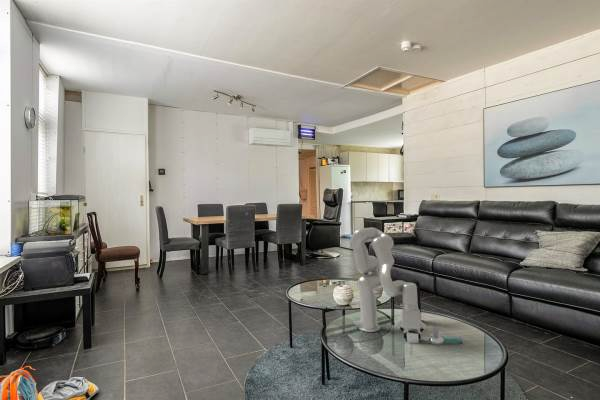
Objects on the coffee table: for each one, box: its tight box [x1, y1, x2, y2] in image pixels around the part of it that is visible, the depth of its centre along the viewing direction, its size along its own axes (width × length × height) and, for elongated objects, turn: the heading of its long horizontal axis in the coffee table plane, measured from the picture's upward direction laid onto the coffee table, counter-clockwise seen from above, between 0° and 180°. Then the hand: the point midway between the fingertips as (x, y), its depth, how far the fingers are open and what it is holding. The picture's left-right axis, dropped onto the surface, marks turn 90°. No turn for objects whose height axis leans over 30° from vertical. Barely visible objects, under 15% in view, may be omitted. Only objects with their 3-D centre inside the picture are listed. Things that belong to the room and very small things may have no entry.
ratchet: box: [427, 327, 463, 346], centre depth 172 cm, size 16×8×7 cm, turn 77°
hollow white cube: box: [406, 329, 420, 344], centre depth 176 cm, size 6×6×5 cm
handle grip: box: [407, 278, 425, 324], centre depth 204 cm, size 10×26×10 cm
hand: (412, 339), depth 176 cm, fingers closed on hollow white cube, 5 cm apart
